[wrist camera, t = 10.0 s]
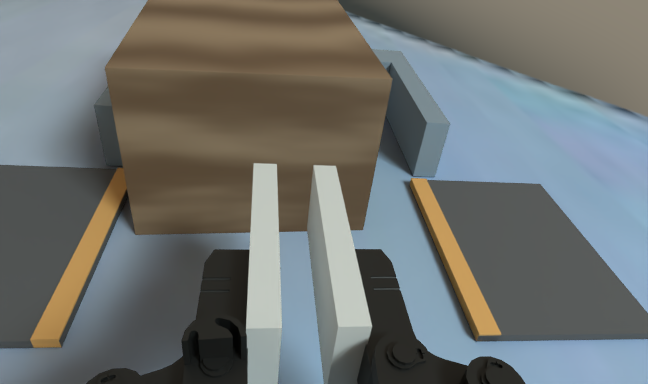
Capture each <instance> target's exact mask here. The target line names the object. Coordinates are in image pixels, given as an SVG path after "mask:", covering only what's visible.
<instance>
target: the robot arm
mask: <svg viewBox="0 0 648 384" xmlns="http://www.w3.org/2000/svg"><path fill="white" fill-rule="evenodd" d="M307 232H308V241H309V250H310V259H311V269H312V278H313V287H314V296H315V305H316V315H317V324H318V333H319V342H320V352H321V361H322V370H323V379H324V384H525V382H524V381H523V379H522V378H521V376H520V375H519V374H518V373H517V372H516V371H515V370H514V369H513V367H511V366H510V365H508V364H507V363H505V362H504V361H502V360H499V359H496V358H493V357H478V358H476V359H474V360H472V361H471V362H470V364H469V365H468V366H467V365H463V364H459V363H456V362H452V361H449V360H445V359H442V358H440V357H437V356H435V355H433V354H432V353H430V352H428V351H427V349H426V347H425V346H424V345H423V344H422V343H421V342H420V341H419V340H417V339H416V337H415V334H414V332H413V329H412V326H411V323H410V319H409V316H408V313H407V310H406V307H405V303H404V300H403V297H402V294H401V290H399V288H400V287H399V284H398V281H397V279H396V274H395V271H394V268H393V265H392V262H391V261H390V259H389V258H388V257H387V256H386V255H385V254H384V252H383V251H382V250H381V249H355V248H354V244H353V239H352V235H351V230H350V226H349V222H348V217H347V213H346V208H345V204H344V199H343V195H342V191H341V186H340V182H339V177H338V173H337V168H336V166H324V165H314V166H313V175H312V185H311V195H310V204H309V214H308V223H307ZM281 333H282V315H281V282H280V250H279V217H278V185H277V164H263V163H254V167H253V189H252V210H251V232H250V250H214V251H213V252H212V254H211V255H210V256H209V258H208V259H207V260H206V262H205V265H204V271H203V279H202V284H201V292H200V297H199V303H198V309H197V316H196V320H195V321H193V322H192V323H191V324H190V326H189V327H188V328H187V329H186V330H185V332H184V335H183V338H182V349H183V356H182V357H181V358H180V359H179V360H178V361H176V362H175V363H173V364H172V365H170V366H167V367H165V368H163V369H160V370H157V371H154V372H151V373H148V374H145V375H142V376H140V375H139V374H138V373H137V372H136V371H133V370H130V369H127V368H118V369H111V370H108V371H105V372H102V373H100V374H98V375H97V376H95V377H94V378H93V379H91V380H90V381H88V382H87V383H86V384H278V373H279V360H280V347H281Z"/></svg>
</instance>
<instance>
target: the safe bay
mask: <svg viewBox="0 0 648 384" xmlns="http://www.w3.org/2000/svg"><path fill="white" fill-rule="evenodd" d="M372 51H373V52H374V53H375V55H376V56H377V58H378V59H379V61H380V62H381V63H382V65H383V66H384V68H385V69H386V71H387V72H388V73H389V75H390V76H391V78H392V79H393V80H392V85H391V90H390V95H389V100H388V105H387V110H386V117H387V119H388V121H389V123H390V126H391V128H392V130H393V132H394V134H395V137H396V139H397V141H398V143H399V146H400V148H401V150H402V152H403V155H404V157H405V159H406V161H407V164H408V166H409V168H410V170H411V172H412V175H413V176H420V177H435V174H436V171H437V167H438V164H439V160H440V157H441V154H442V150H443V147H444V143H445V140H446V137H447V133H448V130H449V126H450V123H449V121H448V120H447V118H446V117H445V115H444V114H443V112H442V111H441V110H440V108H439V107H438V105H437V104H436V102H435V101H434V99H433V98H432V96H431V95H430V93H429V92H428V90H427V89H426V87H425V86H424V85H423V83H422V82H421V80H420V79H419V77H418V76H417V74H416V73H415V71H414V70H413V68H412V67H411V65H410V64H409V62H408V61H407V59H406V58H405V57H404V55H403V54H402V52H401V51H389V50H375V49H372ZM94 107H95V112H96V117H97V122H98V127H99V131H100V136H101V141H102V146H103V151H104V156H105V161H106V165H117V166H123V164H122V159H121V153H120V148H119V142H118V137H117V131H116V126H115V121H114V115H113V110H112V104H111V99H110V93H109V88H108V87H107V88H106V90H105V91H104V92H103V94H102V95H101V96H100V98H99V99H98V100H97V102H96V103H95V104H94Z"/></svg>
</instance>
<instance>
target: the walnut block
mask: <svg viewBox="0 0 648 384" xmlns="http://www.w3.org/2000/svg"><path fill="white" fill-rule="evenodd" d="M105 72H106V77H107V82H108V88H109V93H110V99H111V104H112V110H113V115H114V121H115V126H116V131H117V137H118V142H119V148H120V153H121V159H122V164H123V169H124V175H125V180H126V186H127V191H128V197H129V202H130V208H131V213H132V218H133V224H134V229H135V235H150V234H197V233H245V232H251V210H252V189H253V167H254V163H263V164H277V185H278V217H279V232H293V231H307V223H308V214H309V204H310V195H311V185H312V175H313V166H314V165H324V166H336V168H337V173H338V177H339V182H340V186H341V191H342V195H343V199H344V204H345V208H346V213H347V217H348V222H349V226H350V230H363V227H364V222H365V217H366V212H367V207H368V202H369V197H370V192H371V186H372V181H373V176H374V171H375V166H376V161H377V156H378V151H379V146H380V141H381V136H382V131H383V126H384V120H385V115H386V110H387V105H388V100H389V95H390V90H391V85H392V80H393V79H392V78H391V76H390V75H389V73H388V72H387V71H386V69H385V68H384V66H383V65H382V63H381V62H380V61H379V59H378V58H377V56H376V55H375V53H374V52H373V51H372V49H371V48H370V46H369V45H368V43H367V42H366V41H365V39H364V38H363V36H362V35H361V33H360V32H359V31H358V29H357V28H356V26H355V25H354V23H353V22H352V21H351V19H350V18H349V16H348V15H347V13H346V12H345V11H344V9H343V8H342V6H341V5H340V4H339V2H338V1H337V0H148V1H147V3H146V4H145V6H144V7H143V9H142V10H141V12H140V14H139V15H138V17H137V18H136V20H135V21H134V23H133V24H132V26H131V28H130V29H129V31H128V32H127V34H126V35H125V37H124V38H123V40H122V42H121V43H120V45H119V46H118V48H117V49H116V51H115V52H114V54H113V56H112V57H111V59H110V60H109V62H108V63H107V65H106V66H105Z"/></svg>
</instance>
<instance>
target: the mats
mask: <svg viewBox="0 0 648 384" xmlns="http://www.w3.org/2000/svg"><path fill="white" fill-rule="evenodd" d="M410 187H411V189H412V191H413V194H414V196H415V198H416V201H417V203H418V205H419V208H420V210H421V213H422V215H423V217H424V220H425V222H426V224H427V227H428V229H429V231H430V234H431V236H432V238H433V241H434V243H435V246H436V248H437V250H438V253H439V255H440V257H441V260H442V262H443V264H444V267H445V269H446V271H447V274H448V276H449V278H450V281H451V283H452V286H453V288H454V290H455V293H456V295H457V297H458V300H459V302H460V304H461V307H462V309H463V311H464V314H465V316H466V319H467V321H468V323H469V326H470V328H471V330H472V333H473V335H474V337H475V340H476V341H533V340H602V339H648V313H647V312H646V311H645V310H644V308H643V307H642V306H641V305H640V304H639V302H638V301H637V300H636V299H635V298H634V296H633V295H632V294H631V293H630V292H629V290H628V289H627V288H626V287H625V286H624V284H623V283H622V282H621V281H620V280H619V278H618V277H617V276H616V275H615V273H614V272H613V271H612V270H611V269H610V267H609V266H608V265H607V264H606V263H605V261H604V260H603V259H602V258H601V257H600V255H599V254H598V253H597V252H596V251H595V249H594V248H593V247H592V246H591V245H590V243H589V242H588V241H587V240H586V239H585V237H584V236H583V235H582V234H581V233H580V231H579V230H578V229H577V228H576V227H575V225H574V224H573V223H572V222H571V221H570V219H569V218H568V217H567V216H566V215H565V213H564V212H563V211H562V210H561V209H560V207H559V206H558V205H557V204H556V203H555V201H554V200H553V199H552V198H551V197H550V195H549V194H548V193H547V192H546V191H545V189H544V188H543V187H542V186H541V185H540V184H525V183H497V182H468V181H440V180H427V179H420V178H411V181H410ZM127 196H128V191H127V186H126V180H125V175H124V169H123V168H117V169H100V168H71V167H43V166H15V165H0V348H45V347H62V345H63V342H64V340H65V338H66V336H67V333H68V331H69V329H70V326H71V324H72V322H73V320H74V317H75V315H76V313H77V310H78V308H79V306H80V304H81V301H82V299H83V297H84V294H85V292H86V290H87V288H88V285H89V283H90V281H91V278H92V276H93V274H94V272H95V269H96V267H97V265H98V262H99V260H100V258H101V256H102V253H103V251H104V249H105V246H106V244H107V242H108V240H109V237H110V235H111V233H112V230H113V228H114V226H115V224H116V221H117V219H118V217H119V214H120V212H121V210H122V208H123V205H124V203H125V201H126V198H127Z"/></svg>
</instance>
